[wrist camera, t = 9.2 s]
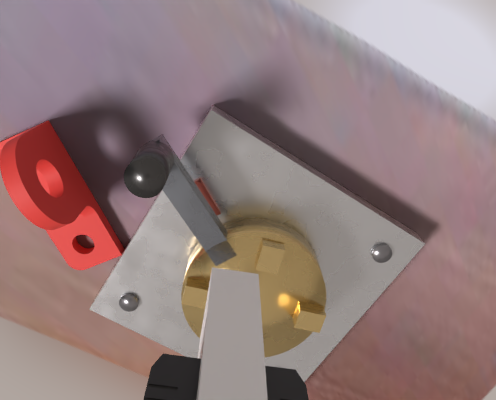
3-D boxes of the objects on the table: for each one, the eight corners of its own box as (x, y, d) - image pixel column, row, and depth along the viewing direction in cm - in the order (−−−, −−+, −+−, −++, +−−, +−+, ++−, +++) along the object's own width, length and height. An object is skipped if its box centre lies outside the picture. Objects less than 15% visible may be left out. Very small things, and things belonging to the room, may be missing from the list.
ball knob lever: (343, 299, 39) (363, 356, 32) (230, 353, 41) (227, 417, 34) (219, 93, 32) (213, 113, 26) (92, 169, 34) (57, 206, 28)
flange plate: (96, 295, 41) (88, 311, 39) (212, 104, 35) (211, 110, 33) (282, 388, 45) (284, 406, 43) (416, 232, 39) (426, 245, 37)
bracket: (-2, 142, 36) (-64, 176, 29) (49, 119, 35) (-2, 148, 28) (78, 266, 40) (42, 324, 33) (124, 248, 40) (98, 302, 32)
